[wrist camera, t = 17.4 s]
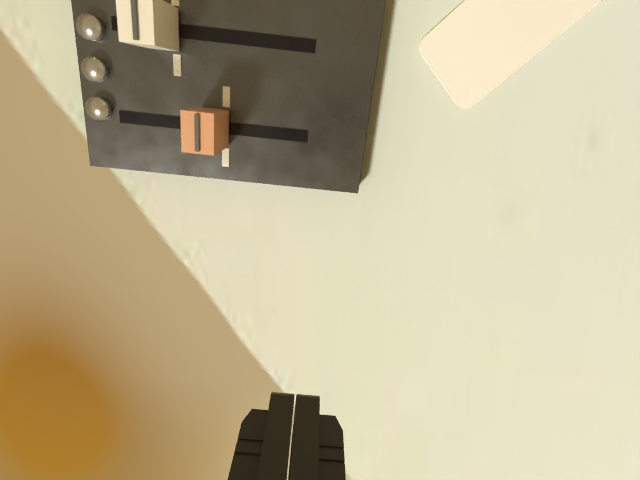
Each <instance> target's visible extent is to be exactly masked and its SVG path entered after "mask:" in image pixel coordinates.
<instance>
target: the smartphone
mask: <svg viewBox="0 0 640 480" xmlns="http://www.w3.org/2000/svg"><path fill="white" fill-rule="evenodd" d="M601 1H602V0H464V1H463V2H462V3H461V4H460V5H459V6H457V7H456V8H455V9H454V10H453V11H452V12H451V13H450V14H449V15H447V17H445V18H444V19H443V20H442V21H441V22H440V23H439V24H438V25H436V26H435V27H434V28H433V29H432V30H431V31H430V32H429V33H428V34H427V35H425V36H424V37H423V39H422V40H421V42H420V44H419V51H420V53H421V55H422V57H423V58H424V60H425V61H426V62H427V64H428V65H429V67H430V68H431V69H432V71H433V72H434V74H435V75H436V76H437V78H438V79H439V80H440V82H441V83H442V85H443V86H444V88H445V89H446V90H447V92H448V93H449V95H450V96H451V98H452V99H453V101H454V102H455V103H456V105H457V106H458V107H460V108H462V109H468V108H470V107H472V106H473V105H475V104H476V103H477V102H478V101H479V100H481V99H482V98H483V97H484V96H486V95H487V94H488V93H489V92H490V91H492V90H493V89H494V88H495V87H497V86H498V85H499V84H500V83H501V82H503V81H504V80H505V79H506V78H508V77H509V76H510V75H511V74H513V73H514V72H515V71H516V70H517V69H519V68H520V67H521V66H522V65H524V64H525V63H526V62H527V61H528V60H530V59H531V58H532V57H533V56H535V55H536V54H537V53H538V52H539V51H541V50H542V49H543V48H544V47H546V46H547V45H548V44H549V43H551V42H552V41H553V40H554V39H555V38H557V37H558V36H559V35H560V34H562V33H563V32H564V31H565V30H566V29H568V28H569V27H570V26H571V25H573V24H574V23H575V22H576V21H577V20H579V19H580V18H581V17H582V16H584V15H585V14H586V13H587V12H589V11H590V10H591V9H592V8H593V7H595V6H596V5H597V4H598V3H600V2H601Z"/></svg>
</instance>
